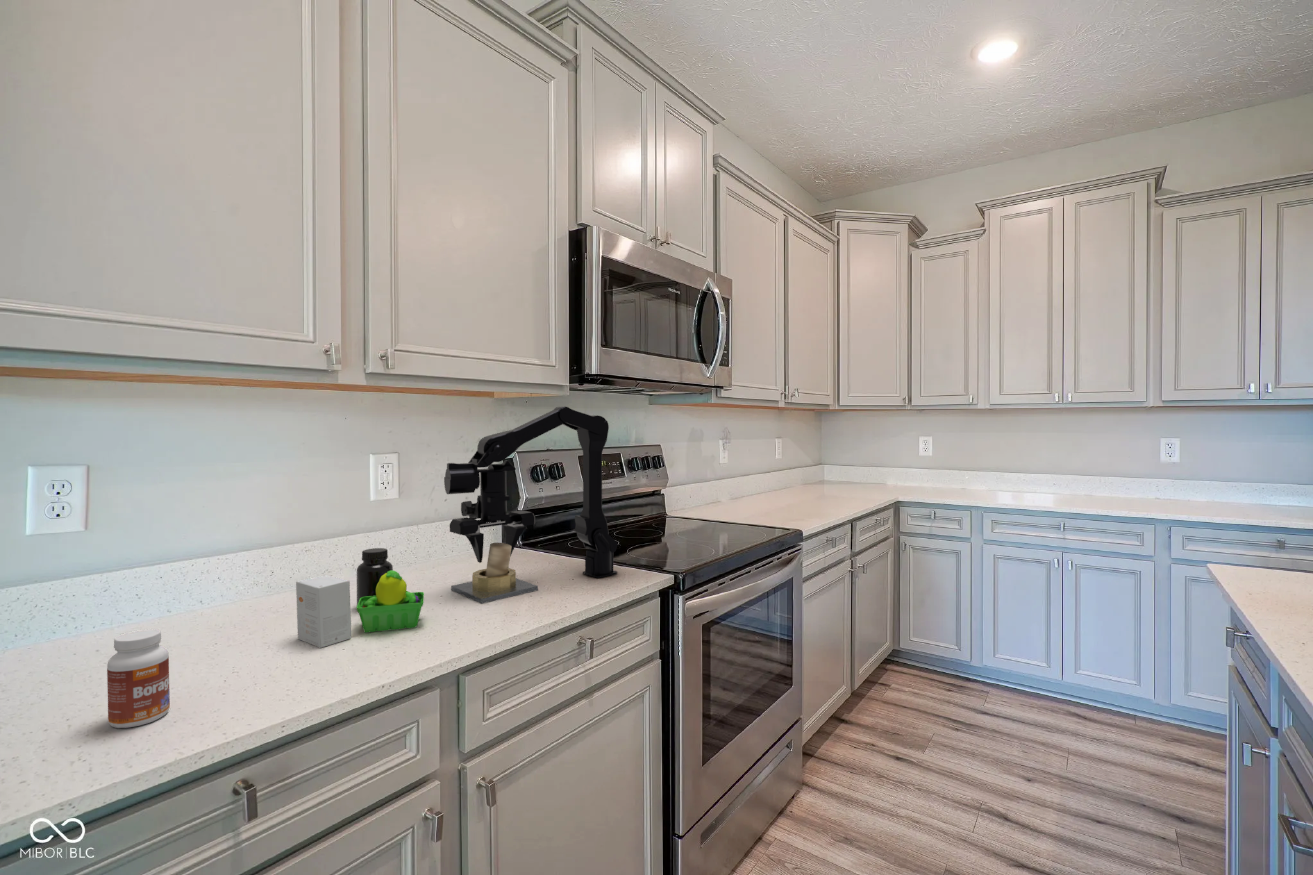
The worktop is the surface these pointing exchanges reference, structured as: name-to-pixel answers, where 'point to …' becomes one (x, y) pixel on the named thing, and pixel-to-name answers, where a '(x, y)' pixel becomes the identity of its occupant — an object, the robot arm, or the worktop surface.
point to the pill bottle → (138, 679)
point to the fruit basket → (390, 605)
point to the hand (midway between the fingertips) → (494, 559)
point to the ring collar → (493, 586)
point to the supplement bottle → (371, 571)
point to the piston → (498, 559)
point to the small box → (323, 610)
